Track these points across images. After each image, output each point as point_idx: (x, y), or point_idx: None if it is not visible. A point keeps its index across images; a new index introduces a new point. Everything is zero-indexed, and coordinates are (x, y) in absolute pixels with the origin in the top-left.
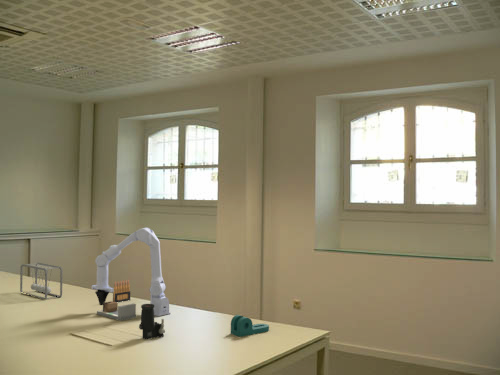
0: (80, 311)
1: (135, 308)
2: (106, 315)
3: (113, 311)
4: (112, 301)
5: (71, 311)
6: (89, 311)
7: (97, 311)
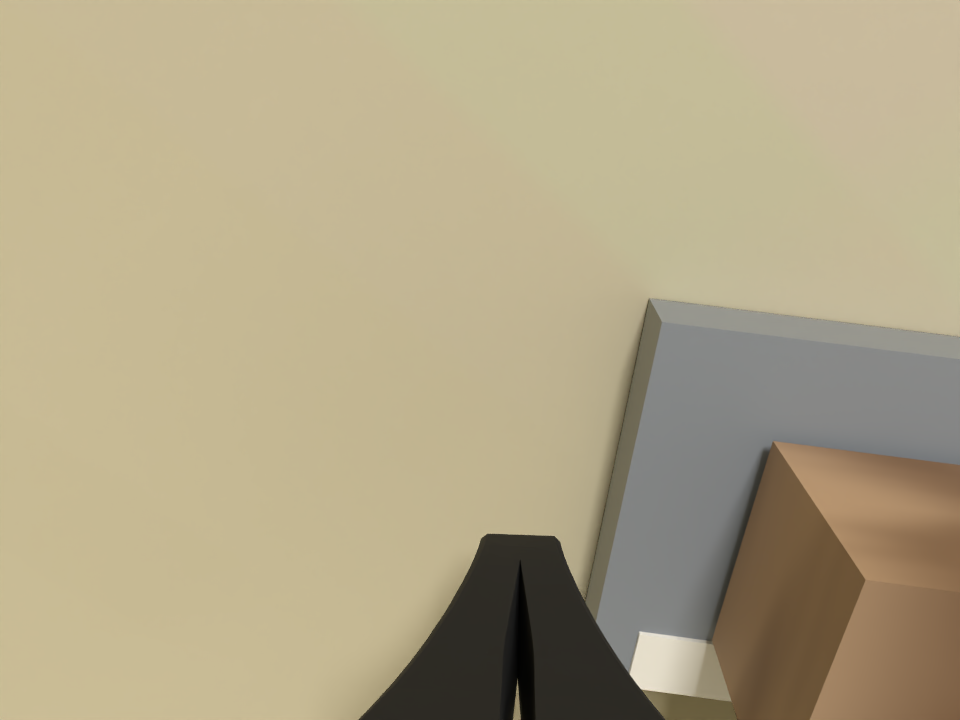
0: (145, 631)
1: None
2: None
3: None
4: (923, 592)
5: (39, 698)
6: (265, 554)
7: None
